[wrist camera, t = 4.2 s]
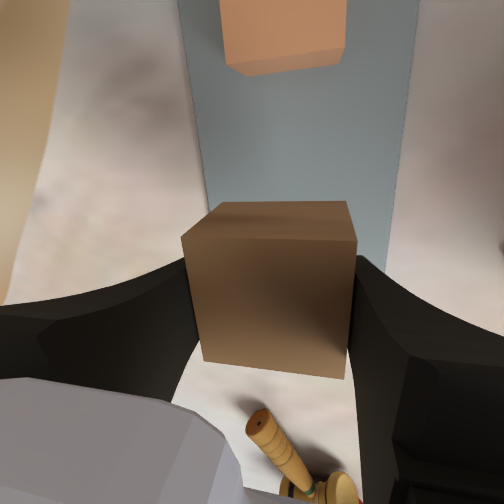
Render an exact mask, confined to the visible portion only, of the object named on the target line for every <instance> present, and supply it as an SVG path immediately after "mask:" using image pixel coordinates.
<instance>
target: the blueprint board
mask: <svg viewBox="0 0 504 504" xmlns="http://www.w3.org/2000/svg"><path fill="white" fill-rule="evenodd" d="M178 6H179V13H180V19H181V26H182V32H183V39H184V45H185V52H186V58H187V65H188V71H189V78H190V85H191V91H192V98H193V104H194V111H195V117H196V124H197V130H198V137H199V143H200V150H201V156H202V163H203V169H204V176H205V183H206V189H207V196H208V202H209V209H210V212H211V211H212V210H213V209H215V208H216V207H217V206H218V205H219V204H221V203H222V202H258V201H346V203H347V206H348V209H349V213H350V216H351V219H352V223H353V226H354V229H355V233H356V236H357V240H358V245H357V255H363V256H364V257H365V258H367V259H368V260H369V261H370V262H371V263H372V264H374V265H375V266H376V267H377V268H378V269H380V270H381V271H382V272H383V273H384V274H385V267H386V260H387V252H388V244H389V236H390V228H391V220H392V212H393V205H394V197H395V189H396V181H397V173H398V165H399V157H400V150H401V142H402V134H403V126H404V118H405V110H406V102H407V95H408V87H409V79H410V71H411V63H412V55H413V47H414V40H415V32H416V24H417V16H418V8H419V0H347V8H346V31H345V48H344V51H343V54H342V57H341V60H340V63H339V64H336V65H329V66H322V67H314V68H307V69H300V70H293V71H285V72H278V73H271V74H263V75H256V76H249V77H247V76H245V75H243V74H242V73H240V72H238V71H236V70H235V69H233V68H231V67H229V66H228V65H226V59H225V50H224V40H223V31H222V21H221V12H220V2H219V0H178Z"/></svg>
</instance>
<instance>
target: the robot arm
mask: <svg viewBox="0 0 504 504" xmlns="http://www.w3.org/2000/svg"><path fill="white" fill-rule="evenodd" d="M199 340H200V338H199V333H198V328H197V322H196V317H195V312H194V306H193V301H192V295H191V290H190V285H189V279H188V274H187V269H186V263H185V258H184V257H183V258H181V259H179V260H177V261H175V262H172V263H170V264H168V265H166V266H164V267H161V268H159V269H156V270H154V271H152V272H149V273H147V274H144V275H142V276H139V277H137V278H134V279H131V280H128V281H125V282H122V283H119V284H116V285H113V286H109V287H105V288H101V289H97V290H94V291H90V292H86V293H82V294H77V295H72V296H67V297H62V298H56V299H50V300H44V301H38V302H30V303H21V304H13V305H5V306H0V504H316V503H311V502H307V501H303V500H298V499H294V498H290V497H285V496H281V495H277V494H272V493H268V492H264V491H259V490H255V489H251V488H246V487H243V481H242V475H241V468H240V464H239V462H238V460H237V459H236V457H235V455H234V453H233V451H232V449H231V447H230V446H229V444H228V442H227V440H226V438H225V436H224V434H223V433H222V432H221V431H220V430H218V429H217V428H216V427H214V426H213V425H212V424H211V423H209V422H208V421H207V420H205V419H204V418H203V417H201V416H200V415H199V414H197V413H196V412H195V411H192V410H189V409H186V408H183V407H180V406H178V405H175V404H172V403H171V401H172V398H173V396H174V393H175V390H176V388H177V385H178V383H179V381H180V378H181V376H182V374H183V371H184V369H185V366H186V364H187V362H188V360H189V358H190V356H191V354H192V352H193V351H194V349H195V347H196V345H197V343H198V342H199ZM347 348H348V353H349V358H350V363H351V368H352V373H353V380H354V387H355V398H356V409H357V421H358V434H359V447H360V461H361V476H362V491H363V504H504V337H503V336H501V335H498V334H495V333H493V332H490V331H487V330H485V329H482V328H480V327H478V326H475V325H473V324H470V323H468V322H466V321H464V320H461V319H459V318H457V317H455V316H453V315H451V314H448V313H446V312H444V311H442V310H440V309H438V308H436V307H435V306H433V305H431V304H429V303H428V302H426V301H424V300H422V299H420V298H419V297H417V296H415V295H414V294H412V293H411V292H409V291H408V290H406V289H405V288H403V287H402V286H400V285H399V284H398V283H396V282H395V281H393V280H392V279H391V278H390V277H388V276H387V275H386V274H384V273H383V272H382V271H381V270H380V269H378V268H377V267H376V266H375V265H374V264H372V263H371V262H370V261H369V260H368V259H367V258H365V257H364V256H363V255H356V265H355V275H354V285H353V295H352V305H351V315H350V325H349V335H348V345H347Z"/></svg>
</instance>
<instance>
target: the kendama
mask: <svg viewBox="0 0 504 504" xmlns="http://www.w3.org/2000/svg"><path fill="white" fill-rule="evenodd" d="M245 431H246V434H247V436H248V437H249V438H250V439H251V440H252V441H253V442H254V443H255V444H257V446H258V447H259V448H260V449H261V450H262V451H263V452H264V453H265V454H266V455H267V456H268V457H269V459H270V460H271V461H272V462H273V463H274V464H275V465H276V466H277V467H278V468H279V470H280V471H281V472H282V473H283V474H284V477H283V478H282V481H281V484H280V491H279V495H281V496H285V497H290V498H294V499H298V500H303V501H307V502H311V503H316V504H363V503H362V501H361V500H360V499H359V498H358V495H357V492H356V488H355V486H354V484H353V481H352V480H351V478H350V477H349V476H348V475H347V474H346V473H345V472H338V471H336V472H333V473H332V474H331V475H330V476H329V478H328V480H327V481H326V482H321V481H320V482H318V483H317V484H315V482H314V481H313V479H312V477H311V475H310V474H309V472H308V470H307V468H306V467H305V465H304V463H303V462H302V460H301V458H300V457H299V455H298V454H297V452H296V451H295V449H294V448H293V447H292V445H291V444H290V442H289V441H288V439H287V438H286V436H285V435H284V433H283V432H282V431H281V429H280V428H279V426H278V425H277V423H276V422H275V420H274V418H273V417H272V415H271V414H270V412H269V411H268V410H267V409H262V410H259V411H257V412H256V413H254V414H253V415H252V416H251V418H250V419H249V421H248V423H247V425H246V429H245Z"/></svg>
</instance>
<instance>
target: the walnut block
mask: <svg viewBox="0 0 504 504" xmlns="http://www.w3.org/2000/svg"><path fill="white" fill-rule="evenodd" d="M181 242H182V247H183V253H184V258H185V263H186V269H187V274H188V279H189V285H190V290H191V295H192V301H193V306H194V312H195V317H196V322H197V328H198V333H199V338H200V344H201V349H202V354H203V360H204V361H206V362H214V363H221V364H229V365H237V366H244V367H252V368H259V369H267V370H275V371H282V372H290V373H297V374H305V375H313V376H320V377H328V378H335V379H343V380H344V375H345V365H346V355H347V345H348V335H349V325H350V315H351V305H352V295H353V285H354V275H355V265H356V255H357V245H358V240H357V236H356V233H355V229H354V226H353V223H352V219H351V216H350V213H349V209H348V206H347V203H346V201H258V202H222V203H221V204H219V205H218V206H217V207H216V208H215V209H213V210H212V211H211V212H210V213H209V214H207V215H206V216H205V217H204V218H203V219H201V220H200V221H199V222H198V223H197V224H195V225H194V226H193V227H192V228H191V229H189V230H188V231H187V232H186V233H185V234H183V235H182V236H181Z"/></svg>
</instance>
